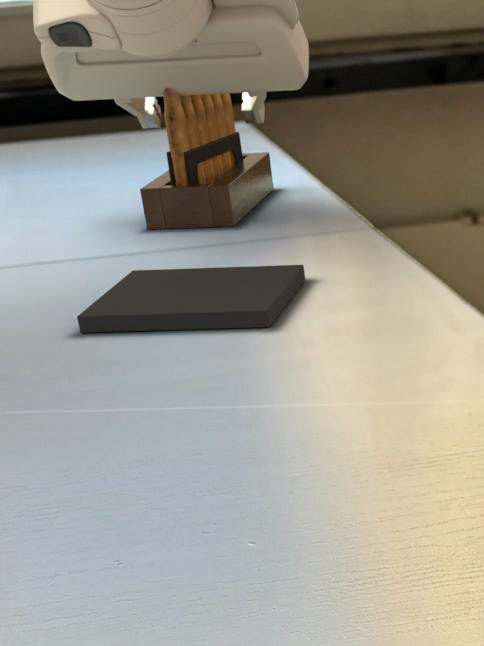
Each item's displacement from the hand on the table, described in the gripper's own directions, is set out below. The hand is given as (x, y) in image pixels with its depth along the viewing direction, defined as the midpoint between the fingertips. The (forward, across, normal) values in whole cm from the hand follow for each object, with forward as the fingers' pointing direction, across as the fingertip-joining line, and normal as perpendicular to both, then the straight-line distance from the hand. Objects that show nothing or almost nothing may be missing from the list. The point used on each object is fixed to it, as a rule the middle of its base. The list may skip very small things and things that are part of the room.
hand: (204, 118), depth 112 cm
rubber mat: (-19, -7, +28) cm, 35 cm away
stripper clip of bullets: (+4, 0, +5) cm, 7 cm away
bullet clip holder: (+4, 0, +5) cm, 7 cm away
